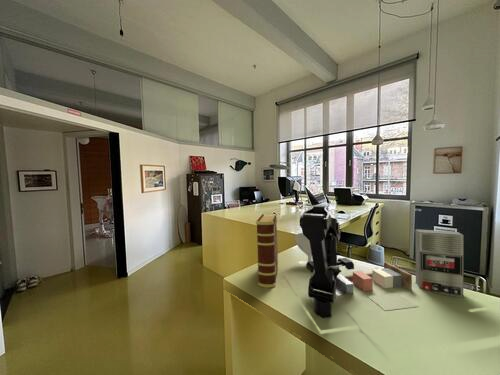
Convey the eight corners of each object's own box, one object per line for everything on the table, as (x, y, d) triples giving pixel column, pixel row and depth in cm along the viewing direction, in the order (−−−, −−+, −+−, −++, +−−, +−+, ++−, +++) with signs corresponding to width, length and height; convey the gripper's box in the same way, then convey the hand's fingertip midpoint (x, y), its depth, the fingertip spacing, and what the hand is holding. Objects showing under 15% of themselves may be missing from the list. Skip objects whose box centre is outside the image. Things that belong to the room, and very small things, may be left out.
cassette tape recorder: (419, 292, 84) (419, 232, 83) (415, 285, 90) (414, 229, 89) (465, 300, 78) (465, 235, 77) (457, 292, 84) (457, 231, 83)
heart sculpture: (295, 263, 118) (294, 232, 117) (298, 260, 122) (297, 230, 121) (322, 269, 108) (322, 235, 108) (325, 265, 113) (324, 233, 112)
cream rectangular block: (393, 288, 86) (393, 276, 86) (384, 289, 85) (384, 276, 85) (380, 280, 93) (380, 268, 93) (372, 281, 92) (372, 269, 92)
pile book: (418, 312, 73) (418, 306, 73) (385, 316, 71) (385, 310, 71) (396, 298, 82) (396, 292, 82) (367, 301, 80) (367, 296, 80)
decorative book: (275, 288, 91) (273, 221, 90) (257, 287, 92) (255, 221, 91) (278, 267, 113) (276, 213, 112) (263, 266, 114) (262, 213, 113)
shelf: (413, 292, 84) (413, 274, 84) (339, 301, 79) (339, 282, 79) (388, 278, 97) (388, 261, 97) (323, 285, 92) (322, 268, 92)
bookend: (353, 294, 82) (353, 283, 82) (337, 296, 81) (337, 285, 81) (340, 283, 91) (340, 273, 91) (325, 285, 90) (325, 275, 90)
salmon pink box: (372, 291, 85) (372, 278, 84) (363, 292, 84) (363, 279, 84) (361, 283, 92) (360, 270, 91) (352, 283, 91) (352, 271, 91)
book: (402, 287, 87) (402, 275, 86) (393, 288, 86) (393, 275, 86) (388, 279, 94) (388, 268, 93) (380, 280, 93) (380, 268, 93)
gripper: (339, 241, 94) (339, 274, 95) (300, 244, 92) (301, 278, 92) (354, 249, 83) (355, 286, 84) (311, 252, 81) (312, 291, 81)
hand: (330, 285), depth 86 cm, fingers closed
